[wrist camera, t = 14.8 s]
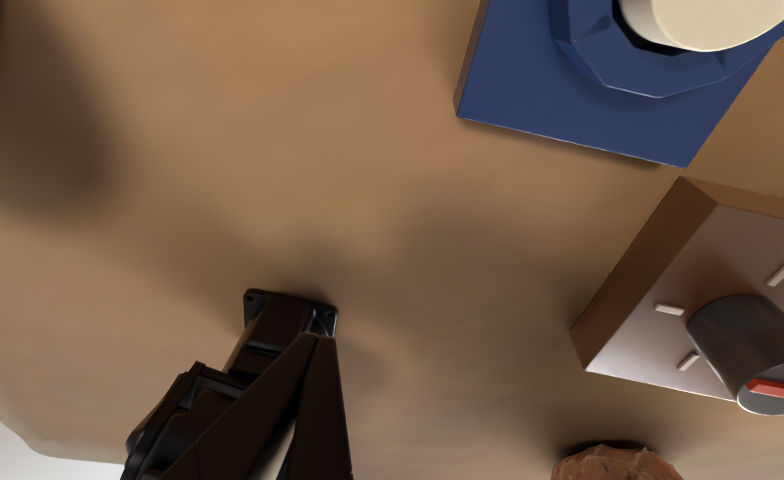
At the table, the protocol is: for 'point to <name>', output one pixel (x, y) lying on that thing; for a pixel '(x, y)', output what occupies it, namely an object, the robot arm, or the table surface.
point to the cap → (701, 21)
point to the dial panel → (682, 284)
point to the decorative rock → (614, 465)
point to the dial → (744, 349)
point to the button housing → (598, 79)
